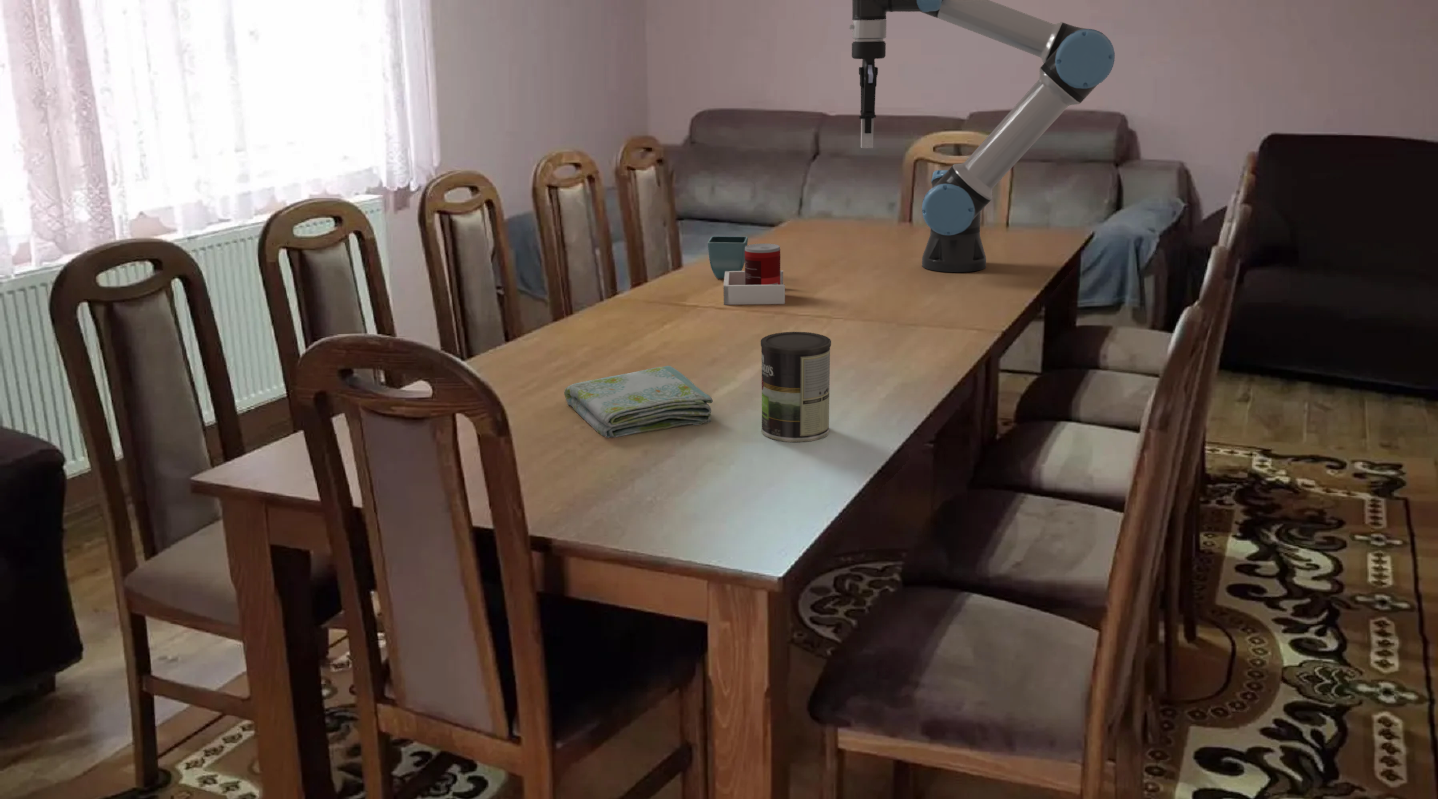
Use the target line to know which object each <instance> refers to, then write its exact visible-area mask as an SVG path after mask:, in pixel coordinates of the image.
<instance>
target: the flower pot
mask: <svg viewBox="0 0 1438 799" xmlns="http://www.w3.org/2000/svg"><path fill="white" fill-rule="evenodd" d="M748 238H749V237H748V236H731V235H729V236H726V235H723V236H722V235H720V236H719V235H718V236H717V235H713V236H710V238H709V240H708V241H707V243H706V244H707V249H708V250H707V251H708V261H709V264H710V269H711V270H712V273H713V275H714V276H715V278H716V279H724V276H725V271H743V268H744V267H745V247H746V246H748V240H749V239H748Z"/></svg>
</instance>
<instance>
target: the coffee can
mask: <svg viewBox="0 0 1438 799" xmlns="http://www.w3.org/2000/svg"><path fill="white" fill-rule="evenodd" d="M831 346H832V340H831V338H830V337H828V336H825V335H823V334H819V333H816V332H815V333H814V332H808V331H784V332H778V333H773V334H772V333H771V334H768V335H765V336H763V337H762V338H761V339H760V347H761V431H760V432H761V434H762V435H763V436H764V437H766V438H767V439H771V440H775V441H778V442H783V443H805V442H812V441H813V442H814V441H817V440H821V439H824V438H825V437H826V436H828V435H829V433H830V379H831V378H830V376H831V375H830V374H831V371H830V370H831Z"/></svg>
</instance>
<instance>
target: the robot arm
mask: <svg viewBox="0 0 1438 799" xmlns="http://www.w3.org/2000/svg"><path fill="white" fill-rule="evenodd" d="M851 1H852V9H851V12H852V13H851V14H852V18H851V21H852V24H850V25H849V28H848V29H850V30H852V33H851V37H852V39H853V40H854V41H852V43H851V58H852V59H853V60H854V59H855V60H861V62H862V63H861V66H858V74H859V86H860V115H858V119H859V120H860V122H861V123H860V148H861V149H874V130H875V128H874V127H875V126H874V125H875V124H874V123H875V118H876V117H877V115H876V109H875V108H876V89H877V88H876V87H877V82H878V81H877V80H878V79H877V78H878V75H879V67H877V66H876V64H875V63H876V62H875V60H881V59H885V57H886V47H887V46H886V44H887V43H886V41H884V39H887V13H888V12H889V13H895V12H900V13H901V12H902V13H904V12H905V13H909V12H910V13H912V12H913V13H915V12H916V13H917V12H919V13H923V14H925V15H927V16H931V17H933V18H937V19H939V20H942V21H944V22H946V23H950V24H952V25H953V26H954V25H955V26H958V27H960V28H963V29H965V30H968V31H971V32H973V33H976V34H978V35H982V36H983V37H986V38H989V39H990V40H991V39H992V40H994V41H998V42H999V43H1002V44H1005V45H1007V46H1009V47H1012V48H1014V49H1015V48H1016V49H1018V50H1020V51H1022V52H1025V53H1027V54H1030V55H1032V56H1036V57H1038V58H1040V59H1041V61H1042V65H1041V66H1040V67H1039V78H1038V80H1037V81H1036V82H1035V83H1034V85H1033V86H1032V87H1031V88H1030V89H1029V90H1028V91H1027V92H1026V94H1025V95H1023V97H1022V98H1021V99H1020V100H1019V101H1018V102H1017V103H1016V104H1015V106H1013V108H1012V109H1010V111H1009V112H1008V113H1007V114H1006V115H1005V117H1004V118H1003V119H1002V120H1001V121H1000V122H999V123H998V124H997V125H996V127H995V128H994V129H993V130H992V132H990V134H989V135H988V136H987V137H986V138H985V139H984V140H983V141H982V143H980V145H978V147H977V148H976V149H975V150H974V151H973V153H972V154H970V156H968V158H967V159H966V160H965V162H962V163H955V164H952V166H951V167H950V168H949V169H943V170H942V169H939V170H937V169H936V170H934V171H933V173H932V177H931V181H930V183H931V188H930V189H929V190H928V191H927V192H926V193H925V195H924V197H923V200H922V204H921V214H922V217H923V220H924V222H925V224H926V225H927V227H929V229H930V234H929V237H928V239H927V243H926V244H925V245H926V246H925V248H924V251H923V253H922V257H921V258H922V259H921V267H923V268H924V269H927V270H929V271H935V272H941V273H942V272H943V273H968V272H969V273H971V272H977V271H978V272H979V271H981V270H984V269H986V268H987V257H986V252H985V250H984V249H985V248H984V246H983V243H982V239H981V216H982V215H981V213H982V211H983V210H984V208H985V207H986V206H987V205H989V203H990V202H991V201H992V200H993V189H994V188H995V186H997V184H998V183H999V182H1001V180H1002V179H1003V178H1004V176H1006V175H1007V174H1008V172H1009V171H1010V170H1011V169H1012V168H1013V167H1014V166H1015V165H1016V164H1017V163H1018V162H1019V160H1021V158H1022V157H1023V156H1024V155H1025V154H1026V153H1027V152H1028V151H1029V149H1030V148H1031V147H1032V146H1033V145H1034V144H1035V143H1036V142H1037V141H1038V140H1039V139H1040V137H1041V136H1043V135H1044V133H1046V131H1047V130H1048V129H1049V127H1051V126H1052V124H1053V123H1055V121H1056V120H1058V118H1059V117H1060V116H1061V115H1062V114H1063V113H1064V112H1065V110H1067V108H1068V107H1070V106H1073V105H1074V106H1075V105H1080V104H1081V103H1082V102H1083V101H1085V99H1086V98H1087V97H1088V96H1089V95H1090V93H1091V92H1093V91H1094V90H1095V88H1096V87H1097V86H1098V85H1099V84H1101V83H1102V82H1104V81H1105V80H1106V79H1107V78H1108V76H1109V75H1110V73H1111V72H1112V70H1113V68H1114V64H1115V56H1116V55H1115V48H1114V45H1113V43H1112V42H1111V40H1110V39H1109V38H1108V37H1107V36H1106V34H1104V33H1103V32H1102V31H1100V30H1097V29H1093V28H1083V27H1079V26H1075V25H1072V24H1068V23H1065V22H1063V21H1060V22H1058V23H1055V24H1054V23H1051V22H1049V21H1047V20H1043V19H1041V18H1039V17H1036V16H1034V15H1033V16H1032V15H1030V14H1028V13H1025V12H1022V11H1019V10H1017V9H1014V8H1012V7H1009V6H1006V5H1003V4H1001V3H998V2H995V1H993V0H851Z"/></svg>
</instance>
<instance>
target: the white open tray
mask: <svg viewBox="0 0 1438 799" xmlns="http://www.w3.org/2000/svg"><path fill="white" fill-rule="evenodd" d="M723 279H724V280H723V305H727V306H728V305H785V304H786V285H785V284H784V270H780V285H745V270H742V271H725V276H724V278H723Z"/></svg>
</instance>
